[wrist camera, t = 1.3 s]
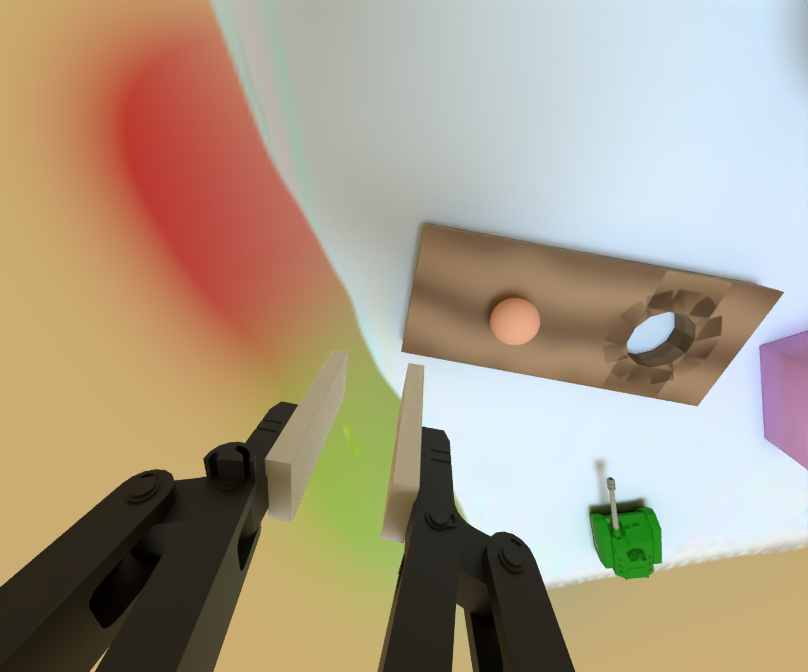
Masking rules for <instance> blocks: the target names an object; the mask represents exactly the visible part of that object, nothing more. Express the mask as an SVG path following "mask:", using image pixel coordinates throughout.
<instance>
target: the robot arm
mask: <svg viewBox="0 0 808 672" xmlns="http://www.w3.org/2000/svg"><path fill="white" fill-rule="evenodd" d="M347 361H348V352H345V351H340V350H335V349H333V350H332V351H331V353H330V354H329V356H328V358H327V359H326V361H325V362H324V364H323V366H322V367H321V369H320V371H319V372H318V374H317V375H316V377H315V379H314V380H313V382H312V384H311V385H310V387H309V388H308V390H307V392H306V394H305V395H304V397H303V398H302V400H301V401H300V403H299V405H298V404H292V403H287V402H280V403H278V404H277V405H275V406H274V407H272V408H271V409H270V410H269V411H268V413H267V414H266V415H265V417H264V418H263V420H262V421H261V422H260V424H259V425H258V426H257V429H255V430H254V432H253V433H252V434H251V436H250V437H249V438H248V440H247V441H246V443H242V442H230V443H226V444H223V445H220V446H218V447H216V448H215V449H213V450H212V451H210V452H209V453H208V454H207V455H206V456H205V457H204V465H205V470H206V475H207V476H206V477H201V478H194V479H185V480H175V481H174V478H173V476H172V474H171V473H169V472H167V471H166V470H157V469H156V470H150V471H145V472H142V473H140V474H137V475H135V476H133V477H131V478H130V479H128V480H127V481H125V482H124V483H122V484H121V485H120V486H119V487H117V488H116V489H115V490H114V491H113V492H111V493H110V494H109V495H108V496H107V497H106V498H104V499H103V500H102V501H101V502H100V503H99V504H97V505H96V506H95V507H94V508H93V509H92V510H90V511H89V512H88V513H87V514H86V515H84V516H83V517H82V518H81V519H80V520H79V521H77V522H76V523H75V524H74V525H73V526H72V527H70V528H69V529H68V530H67V531H66V532H65V533H63V534H62V535H61V536H60V537H59V538H57V539H56V540H55V541H54V542H53V543H52V544H51V545H49V546H48V547H47V548H46V549H45V550H43V551H42V552H41V553H40V554H39V555H37V556H36V557H35V558H34V559H33V560H32V561H30V562H29V563H28V564H27V565H26V566H25V567H23V568H22V569H21V570H20V571H19V572H18V573H16V574H15V575H14V576H13V577H12V578H10V579H9V580H8V581H7V582H6V583H5V584H4V585H3V586H1V587H0V672H90V670H91V669H92V668H93V667H94V665H95V664H96V663H97V661H98V660H99V659H100V658H101V656H102V655H103V654H104V652H105V651H106V650H107V649H108V647H109V649H108V650H107V652H106V653H105V655H104V657H103V658H102V660H101V662H100V664H99V665H98V667H97V669H96V671H95V672H213V671H214V668H215V665H216V662H217V659H218V656H219V653H220V650H221V648H222V645H223V642H224V639H225V636H226V633H227V630H228V627H229V624H230V621H231V618H232V615H233V612H234V609H235V607H236V604H237V601H238V598H239V595H240V592H241V589H242V586H243V583H244V580H245V577H246V574H247V571H248V569H249V566H250V563H251V560H252V557H253V554H254V551H255V548H256V545H257V542H258V539H259V536H260V532H261V521H262V519H263V517H264V515H265V513H266V511H267V509H268V518H270V519H275V520H281V521H286V522H292V520H293V518H294V515H295V513H296V511H297V508H298V506H299V504H300V501H301V499H302V496H303V494H304V492H305V489H306V487H307V484H308V482H309V480H310V477H311V475H312V473H313V470H314V468H315V465H316V463H317V461H318V458H319V456H320V453H321V451H322V449H323V446H324V444H325V442H326V439H327V437H328V434H329V432H330V430H331V427H332V425H333V422H334V420H335V418H336V415H337V413H338V411H339V408H340V406H341V403H342V400H343V399H344V393H345V382H346V371H347ZM423 384H424V366H422V365H417V364H411V363H409V364H408V369H407V374H406V379H405V384H404V389H403V394H402V399H401V404H400V409H399V416H398V423H397V430H396V437H395V444H394V451H393V458H392V465H391V472H390V479H389V486H388V492H387V499H386V506H385V513H384V521H383V527H382V534H381V539H384V540H389V541H395V542H400V543H404V541H405V550H404V555H403V558H402V562H401V565H400V569H399V572H398V573H399V576H398V581H397V585H396V590H395V594H394V599H393V604H392V608H391V613H390V617H389V622H388V626H387V631H386V636H385V640H384V645H383V649H382V654H381V658H380V663H379V668H378V672H452V660H453V644H454V627H455V612H456V604H458V605H459V606H461V607H463V608H464V614H465V620H466V627H467V634H468V641H469V647H470V653H471V661H472V668H473V672H575V670H574V667H573V664H572V661H571V659H570V656H569V653H568V650H567V648H566V644H565V642H564V639H563V636H562V633H561V630H560V628H559V625H558V622H557V619H556V616H555V614H554V611H553V608H552V605H551V602H550V600H549V597H548V594H547V591H546V588H545V585H544V583H543V580H542V577H541V574H540V571H539V569H538V566H537V563H536V560H535V558H534V556H533V554H532V552H531V550H530V548H529V547H528V546H527V545H526V544H525V543H524V542H523V541H522V540H521V539H520V538H518V537H517V536H515V535H514V534H511V533H507V532H497V533H495V534H494V535H492V536H489V535H487V534H485V533H483V532H481V531H479V530H477V529H476V528H474V527H472V526H471V525H469V524H468V523H467V522H466V521H465V520H464V519H463V518H462V517H461V516H460V514H459V513H458V511H457V509H456V506H455V502H454V493H453V480H452V466H451V455H450V453H451V452H450V441H449V439H448V437H447V435H446V434H445V432H444V430H438V429H433V428H427V427H422V409H423Z"/></svg>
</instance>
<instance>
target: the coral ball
mask: <svg viewBox="0 0 808 672" xmlns="http://www.w3.org/2000/svg"><path fill="white" fill-rule="evenodd" d="M490 327H491V330H492V332H493V334H494V335H495V337H496V338H497V339H498V340H500V341H501V342H503V343H506V344H509V345H521V344H524V343H526V342H528V341H530V340H531V339H532V338H533V337H534V336H535V335H536V334H537V332H538V330H539V327H540V316H539V313H538V310H537V309H536V307H535V306H534V305H533V304H532V303H530V302H529V301H527V300H524V299H521V298H510V299H507V300H504V301H502V302H501V303H499V304H498V305H497V306H496V307H495V308H494V310H493V312H492V314H491V317H490Z"/></svg>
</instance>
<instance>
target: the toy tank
mask: <svg viewBox="0 0 808 672" xmlns="http://www.w3.org/2000/svg"><path fill="white" fill-rule="evenodd" d="M607 486H608V489H609V491H610V502H611V512H612V515H606V516H605V515H604V516H603V515H601V514H599V513H593V514H590V522H591V528H592V534H593V540H594V545H595V548H596V551H597V554H598V557H599V559H600V561H601V562H602V564H603V565H604V566H605V567H606V569H607V568H613V570H614V572H615V574H616V575H617V576H620V577H624V578H625V579H626V580H627V579H631V578H643V577H647V578H649V575H650V574H651V573H653V572H654V568H653V564H658V563H662V542H661V527H660V525H659V522H658V520H657V517H656V514H655V513H654V511H653V510H652V508H648V507H637V508H636V511H634V512H627V513H621V514H620V513H619V514H617V509H616V501H615V493H614V490H615V480H614V479H613V478H611V477H609V478H607Z"/></svg>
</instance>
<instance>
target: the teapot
mask: <svg viewBox="0 0 808 672" xmlns="http://www.w3.org/2000/svg"><path fill="white" fill-rule="evenodd" d="M759 348H760V366H761V384H762V401H763V419H764V437H765V438H766V439H767V440H768V441H770V442H771V443H772V444H774V445H775V446H776V447H778V448H779V449H780V450H782V451H783V452H784V453H786V454H787V455H788V456H790V457H791V458H792V459H794V460H795V461H796V462H798V463H799V464H801V465H802V466H803V467H805V468H806V469H807V470H808V331H805V332H802V333H799V334H796V335H792V336H789V337H786V338H783V339H780V340H776V341H773V342H770V343H767V344H764V345H761V346H759Z"/></svg>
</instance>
